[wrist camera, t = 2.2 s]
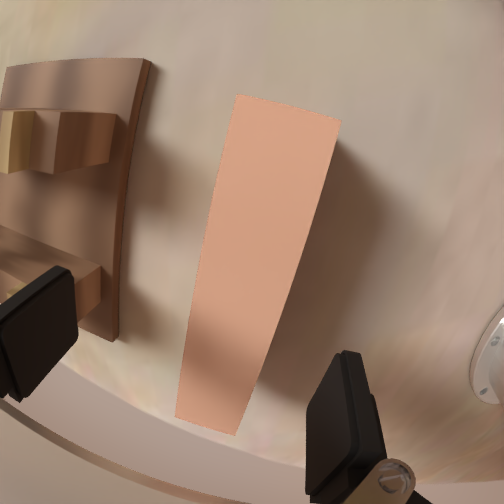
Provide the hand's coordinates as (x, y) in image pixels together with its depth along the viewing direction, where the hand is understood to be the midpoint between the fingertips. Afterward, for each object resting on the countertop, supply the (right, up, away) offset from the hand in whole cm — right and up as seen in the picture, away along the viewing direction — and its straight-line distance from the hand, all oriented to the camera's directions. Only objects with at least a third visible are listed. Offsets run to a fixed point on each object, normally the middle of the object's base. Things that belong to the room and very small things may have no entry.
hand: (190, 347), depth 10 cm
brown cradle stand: (-13, +7, +10) cm, 18 cm away
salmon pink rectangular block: (+2, +3, +9) cm, 10 cm away
